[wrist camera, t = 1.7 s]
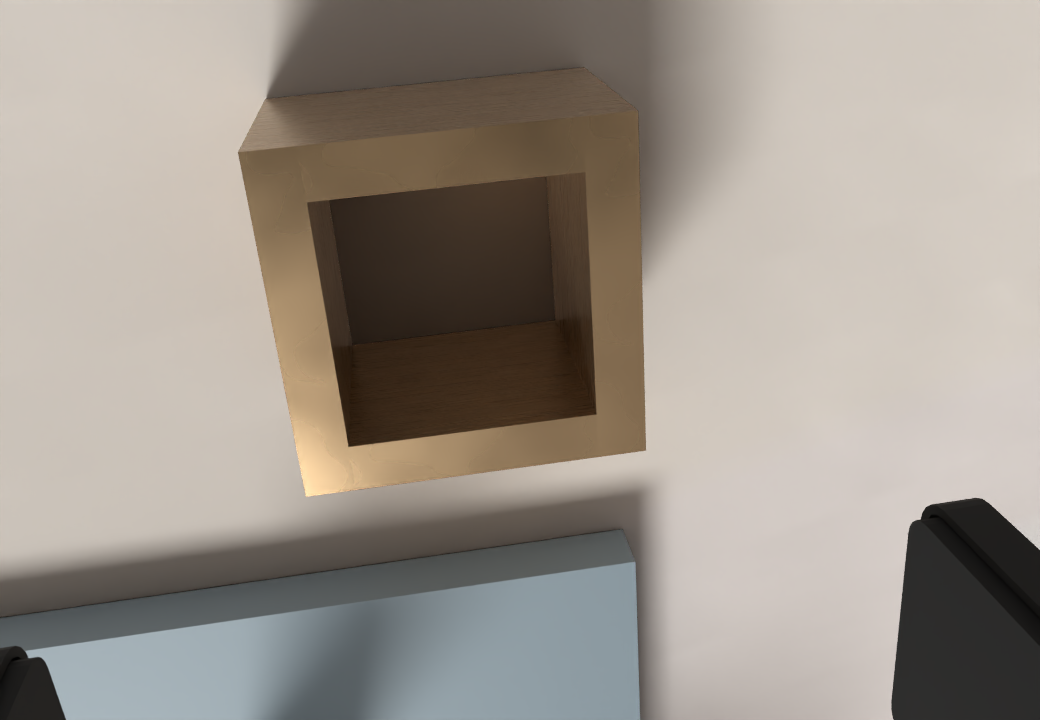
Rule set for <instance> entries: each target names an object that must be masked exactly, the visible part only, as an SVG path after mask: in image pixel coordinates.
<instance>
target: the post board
mask: <svg viewBox="0 0 1040 720" xmlns="http://www.w3.org/2000/svg"><path fill="white" fill-rule="evenodd" d="M10 646H19V647H21V648H22V649H23V650H24V651H25V652H26V653H27V656H28V658H34V657H41V658H42V659H43V660H44V661H45V662H46V665H47V667H48V669H49V672H50V675H51V678H52V681H53V683H54V686H55V689H56V692H57V695H58V698H59V701H60V704H61V707H62V709H63V712H64V715H65V718H66V720H640V699H639V665H638V631H637V597H636V563H635V559H634V557H633V554H632V552H631V549H630V547H629V544H628V542H627V539H626V537H625V534H624V532H623V529H620V530H613V531H606V532H599V533H592V534H585V535H578V536H571V537H564V538H557V539H550V540H544V541H537V542H530V543H523V544H516V545H509V546H502V547H495V548H488V549H481V550H474V551H467V552H460V553H453V554H446V555H439V556H432V557H425V558H418V559H411V560H404V561H397V562H390V563H383V564H376V565H369V566H362V567H355V568H348V569H341V570H334V571H327V572H320V573H313V574H306V575H299V576H292V577H285V578H278V579H271V580H264V581H257V582H250V583H243V584H236V585H229V586H222V587H215V588H208V589H201V590H194V591H187V592H180V593H173V594H166V595H159V596H152V597H145V598H138V599H131V600H124V601H117V602H110V603H103V604H96V605H89V606H82V607H75V608H68V609H61V610H54V611H47V612H40V613H33V614H26V615H19V616H12V617H5V618H0V648H4V647H10Z"/></svg>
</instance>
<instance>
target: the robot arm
mask: <svg viewBox="0 0 1040 720" xmlns="http://www.w3.org/2000/svg"><path fill="white" fill-rule="evenodd" d="M892 715H893V719H894V720H1040V550H1039V549H1038V548H1037V547H1036V546H1035V545H1034V544H1033V543H1031V542H1030V541H1029V540H1028V539H1027V538H1026V537H1025V536H1024V535H1023V534H1022V533H1021V532H1020V531H1018V530H1017V529H1016V528H1015V527H1014V526H1013V525H1012V524H1011V523H1010V522H1009V521H1008V520H1007V519H1005V518H1004V517H1003V516H1002V515H1001V514H1000V513H999V512H998V511H997V510H996V509H995V508H993V507H992V506H991V505H990V504H989V503H988V502H986V501H985V500H983V499H980V498H972V499H965V500H959V501H952V502H946V503H939V504H933V505H930V506H928V507H926V508H925V510H924V511H923V513H922V517H921V520H916V521H914V522H912V524H911V526H910V528H909V533H908V543H907V553H906V562H905V572H904V582H903V592H902V602H901V612H900V622H899V632H898V642H897V652H896V662H895V672H894V682H893V692H892ZM0 720H66V718H65V715H64V712H63V709H62V707H61V704H60V701H59V698H58V695H57V692H56V689H55V686H54V683H53V681H52V678H51V675H50V672H49V669H48V667H47V665H46V662H45V661H44V660H43V659H42V658H41V657H34V658H28V656H27V653H26V652H25V651H24V650H23V649H22V648H21V647H19V646H10V647H4V648H0Z"/></svg>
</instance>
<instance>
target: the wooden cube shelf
mask: <svg viewBox="0 0 1040 720" xmlns="http://www.w3.org/2000/svg"><path fill="white" fill-rule="evenodd" d="M238 154H239V159H240V165H241V170H242V175H243V180H244V185H245V190H246V195H247V200H248V205H249V210H250V215H251V220H252V225H253V230H254V236H255V241H256V246H257V251H258V256H259V261H260V266H261V271H262V276H263V281H264V286H265V291H266V296H267V302H268V307H269V312H270V317H271V322H272V327H273V332H274V337H275V342H276V347H277V352H278V357H279V362H280V367H281V373H282V378H283V383H284V388H285V393H286V398H287V403H288V408H289V413H290V418H291V423H292V428H293V433H294V439H295V444H296V449H297V454H298V459H299V464H300V469H301V474H302V479H303V484H304V489H305V494H306V497H307V496H315V495H322V494H329V493H337V492H344V491H351V490H359V489H366V488H373V487H381V486H388V485H396V484H403V483H410V482H418V481H425V480H432V479H440V478H447V477H454V476H462V475H469V474H476V473H484V472H491V471H499V470H506V469H513V468H521V467H528V466H535V465H543V464H550V463H557V462H565V461H572V460H580V459H587V458H594V457H602V456H609V455H616V454H624V453H631V452H638V451H646V434H645V389H644V345H643V301H642V257H641V212H640V168H639V124H638V110H637V109H636V108H634V107H633V106H632V105H631V104H629V103H628V102H627V101H626V100H624V99H623V98H622V97H620V96H619V95H618V94H617V93H615V92H614V91H613V90H612V89H610V88H609V87H608V86H607V85H605V84H604V83H603V82H602V81H600V80H599V79H598V78H597V77H595V76H594V75H593V74H592V73H590V72H589V71H588V70H587V69H585V68H584V67H581V68H571V69H561V70H551V71H541V72H531V73H521V74H511V75H501V76H491V77H481V78H471V79H460V80H450V81H440V82H430V83H420V84H410V85H400V86H390V87H380V88H370V89H360V90H350V91H340V92H330V93H320V94H310V95H299V96H289V97H279V98H269V99H265V101H264V103H263V105H262V107H261V109H260V111H259V112H258V114H257V116H256V118H255V120H254V122H253V124H252V126H251V128H250V130H249V132H248V134H247V136H246V138H245V140H244V142H243V144H242V146H241V147H240V149H239V151H238ZM544 176H546V182H547V198H548V214H549V229H550V245H551V261H552V276H553V292H554V308H555V320H552V321H544V322H536V323H528V324H520V325H512V326H503V327H495V328H487V329H479V330H471V331H463V332H454V333H446V334H438V335H430V336H422V337H414V338H405V339H397V340H389V341H381V342H373V343H365V344H357V345H352V339H351V333H350V327H349V321H348V314H347V308H346V302H345V296H344V289H343V283H342V277H341V271H340V265H339V258H338V252H337V246H336V240H335V233H334V227H333V221H332V215H331V209H330V202H329V200H333V199H342V198H352V197H361V196H370V195H379V194H388V193H397V192H407V191H416V190H425V189H434V188H443V187H452V186H461V185H471V184H480V183H489V182H498V181H507V180H516V179H526V178H535V177H544Z"/></svg>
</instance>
